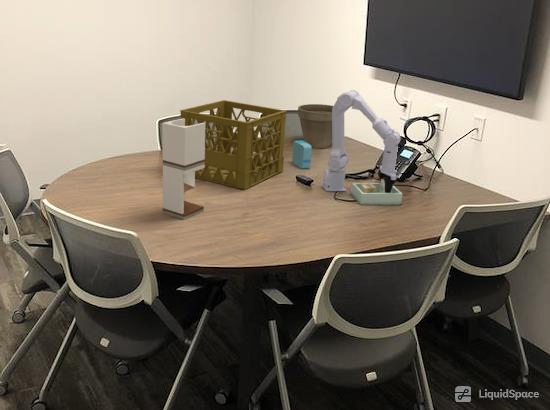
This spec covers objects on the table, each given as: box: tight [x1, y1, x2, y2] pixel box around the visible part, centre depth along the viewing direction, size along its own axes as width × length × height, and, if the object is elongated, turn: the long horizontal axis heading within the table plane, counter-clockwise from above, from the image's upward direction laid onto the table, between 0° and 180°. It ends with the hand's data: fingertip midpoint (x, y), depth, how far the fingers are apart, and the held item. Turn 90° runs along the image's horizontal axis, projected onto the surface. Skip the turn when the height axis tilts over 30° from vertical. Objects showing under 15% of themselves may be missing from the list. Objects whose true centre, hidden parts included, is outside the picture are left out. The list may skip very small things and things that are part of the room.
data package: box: [291, 140, 313, 170], centre depth 288 cm, size 12×4×12 cm, turn 24°
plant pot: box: [297, 103, 334, 149], centre depth 327 cm, size 25×25×22 cm
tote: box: [350, 182, 403, 206], centre depth 248 cm, size 18×14×5 cm
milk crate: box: [179, 99, 288, 190], centre depth 266 cm, size 35×35×30 cm
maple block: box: [361, 184, 376, 193], centre depth 247 cm, size 5×5×5 cm
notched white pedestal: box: [161, 118, 206, 221], centre depth 215 cm, size 11×11×35 cm
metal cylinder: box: [379, 178, 391, 193], centre depth 248 cm, size 5×5×7 cm
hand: (385, 190), depth 248 cm, fingers closed on metal cylinder, 5 cm apart
